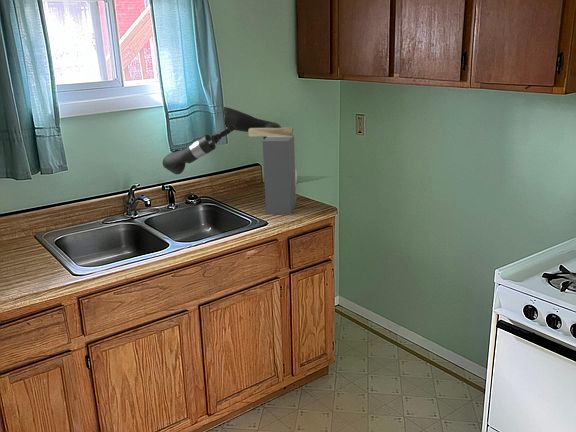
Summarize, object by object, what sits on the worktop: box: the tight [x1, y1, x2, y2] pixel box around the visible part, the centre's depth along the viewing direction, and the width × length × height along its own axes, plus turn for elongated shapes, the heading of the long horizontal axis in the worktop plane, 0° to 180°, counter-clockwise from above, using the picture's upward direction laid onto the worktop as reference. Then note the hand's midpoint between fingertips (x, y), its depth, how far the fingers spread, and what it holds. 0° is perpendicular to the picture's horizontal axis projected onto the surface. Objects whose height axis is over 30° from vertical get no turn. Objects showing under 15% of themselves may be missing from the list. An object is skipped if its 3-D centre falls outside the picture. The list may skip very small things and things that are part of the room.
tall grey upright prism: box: [262, 133, 297, 215], centre depth 257 cm, size 14×11×32 cm
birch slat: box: [247, 127, 294, 137], centre depth 256 cm, size 4×19×3 cm, turn 80°
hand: (231, 128), depth 258 cm, fingers open, 8 cm apart
